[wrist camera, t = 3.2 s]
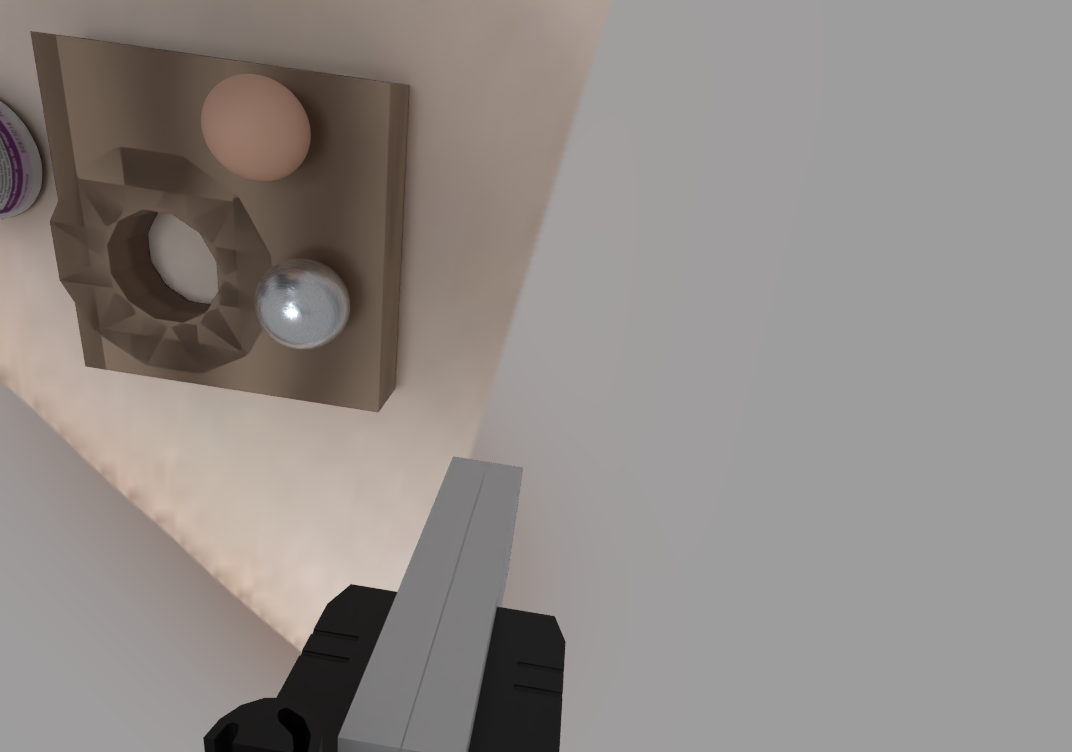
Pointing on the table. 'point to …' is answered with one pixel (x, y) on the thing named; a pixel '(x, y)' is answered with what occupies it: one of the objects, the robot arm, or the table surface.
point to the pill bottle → (17, 165)
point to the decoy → (255, 127)
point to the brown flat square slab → (222, 219)
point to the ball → (302, 303)
